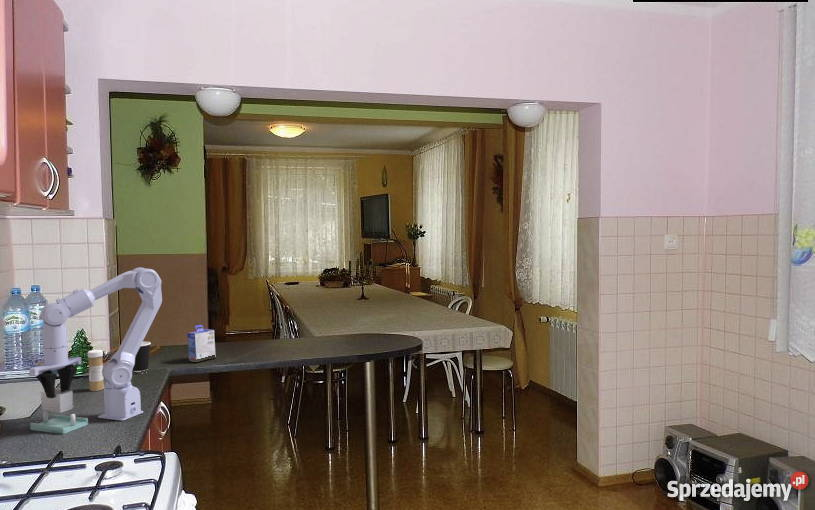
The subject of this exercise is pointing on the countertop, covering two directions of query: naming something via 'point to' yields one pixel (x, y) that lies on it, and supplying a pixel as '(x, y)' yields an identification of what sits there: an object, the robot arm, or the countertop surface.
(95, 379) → the sprinkles bottle
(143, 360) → the dixie cup
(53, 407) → the drive block
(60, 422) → the teal base with pegs
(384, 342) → the countertop surface
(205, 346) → the ink cartridge box
